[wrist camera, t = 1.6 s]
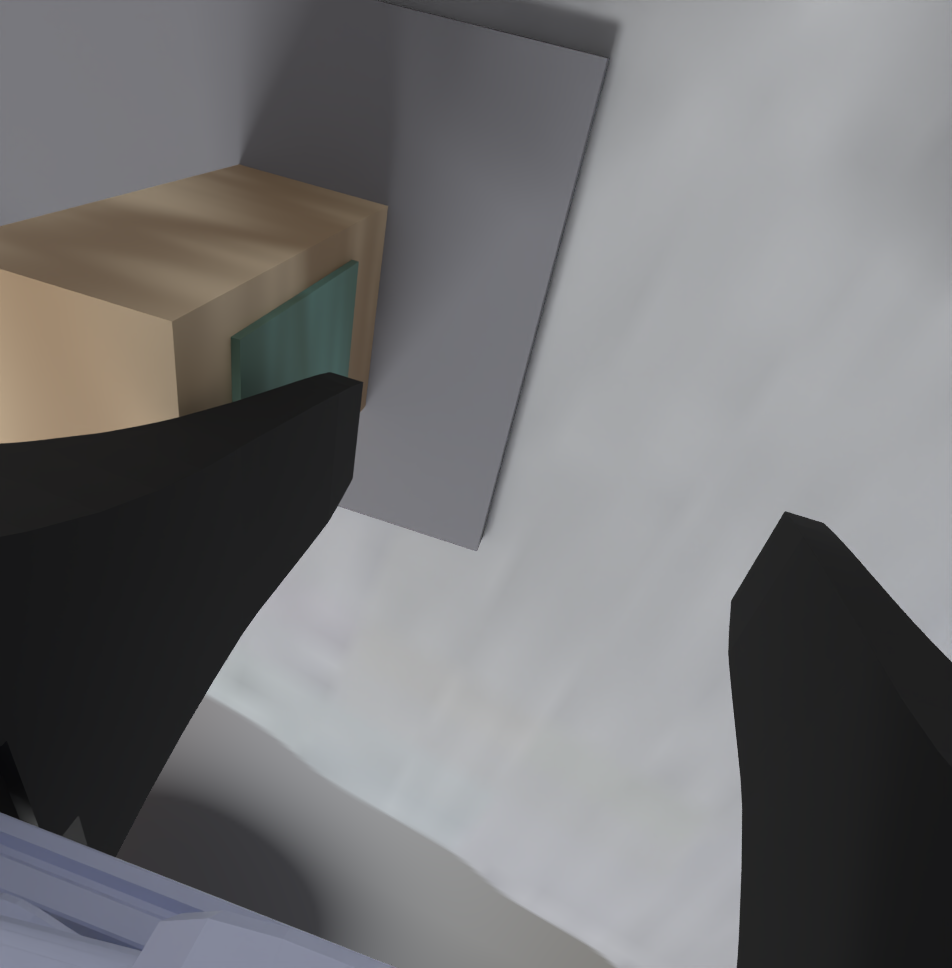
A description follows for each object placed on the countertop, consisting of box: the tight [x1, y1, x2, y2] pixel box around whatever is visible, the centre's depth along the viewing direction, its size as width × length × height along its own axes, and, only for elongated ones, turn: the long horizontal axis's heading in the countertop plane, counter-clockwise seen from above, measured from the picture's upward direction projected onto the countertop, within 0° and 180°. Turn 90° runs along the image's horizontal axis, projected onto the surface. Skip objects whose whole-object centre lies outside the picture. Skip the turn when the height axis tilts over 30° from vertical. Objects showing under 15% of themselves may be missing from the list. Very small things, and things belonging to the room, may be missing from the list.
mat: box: [0, 0, 610, 551], centre depth 16 cm, size 16×12×1 cm
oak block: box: [0, 165, 388, 443], centre depth 13 cm, size 4×5×8 cm
